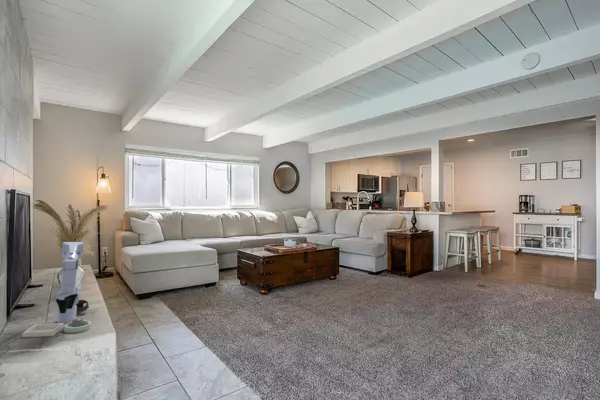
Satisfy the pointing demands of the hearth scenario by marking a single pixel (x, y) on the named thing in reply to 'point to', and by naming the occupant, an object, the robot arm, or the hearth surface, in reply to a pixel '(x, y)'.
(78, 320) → the grey short cylinder
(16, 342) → the hearth surface
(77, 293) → the robot arm
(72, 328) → the sage bowl
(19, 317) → the hearth surface
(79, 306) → the pottery mug
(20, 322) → the hearth surface
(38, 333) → the parts tray
